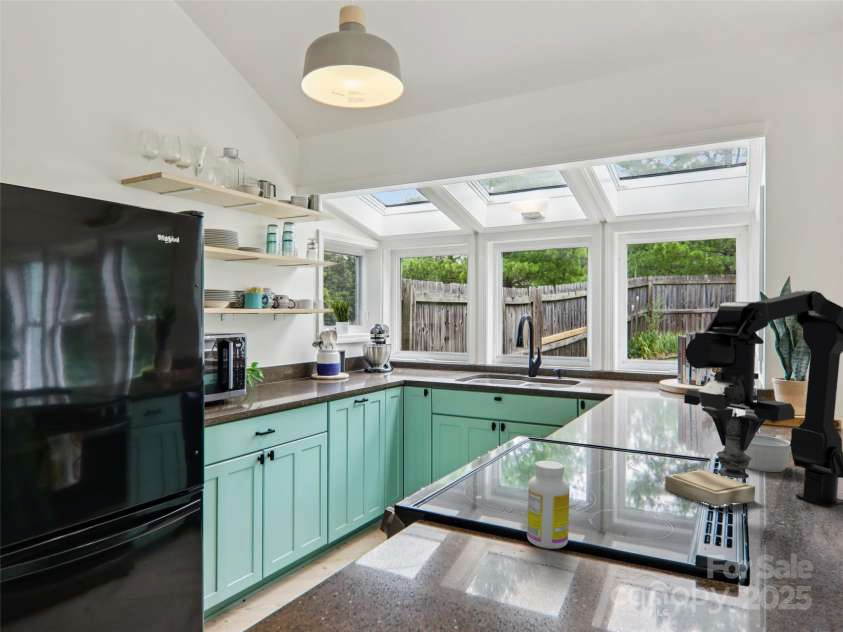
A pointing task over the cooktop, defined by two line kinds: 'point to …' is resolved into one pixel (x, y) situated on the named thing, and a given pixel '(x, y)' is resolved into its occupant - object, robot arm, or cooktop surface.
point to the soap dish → (709, 488)
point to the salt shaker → (733, 451)
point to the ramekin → (768, 453)
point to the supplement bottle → (548, 506)
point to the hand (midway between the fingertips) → (734, 448)
